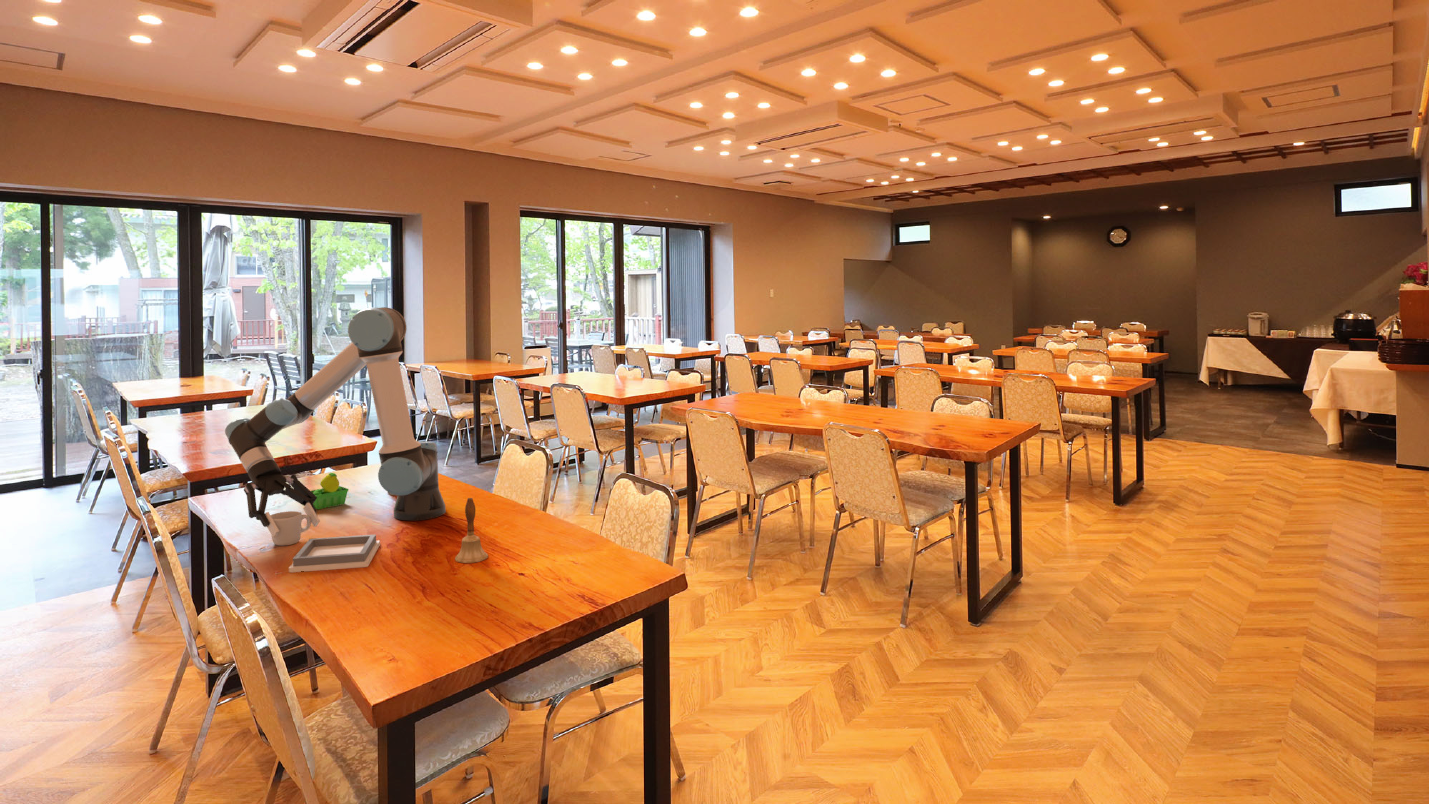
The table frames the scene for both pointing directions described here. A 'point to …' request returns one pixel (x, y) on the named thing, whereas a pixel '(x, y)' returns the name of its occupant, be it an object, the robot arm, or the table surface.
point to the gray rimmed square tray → (335, 553)
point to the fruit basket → (329, 492)
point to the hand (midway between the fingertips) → (297, 529)
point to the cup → (289, 527)
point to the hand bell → (470, 539)
